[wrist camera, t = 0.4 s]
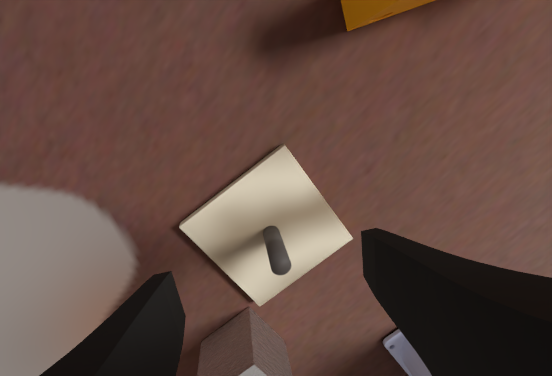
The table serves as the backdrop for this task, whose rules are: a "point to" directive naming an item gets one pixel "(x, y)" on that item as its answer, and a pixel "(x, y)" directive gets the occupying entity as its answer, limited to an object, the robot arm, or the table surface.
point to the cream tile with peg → (267, 227)
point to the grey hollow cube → (244, 349)
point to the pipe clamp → (374, 10)
